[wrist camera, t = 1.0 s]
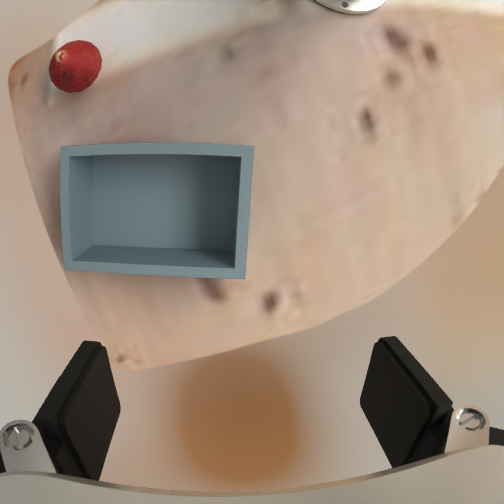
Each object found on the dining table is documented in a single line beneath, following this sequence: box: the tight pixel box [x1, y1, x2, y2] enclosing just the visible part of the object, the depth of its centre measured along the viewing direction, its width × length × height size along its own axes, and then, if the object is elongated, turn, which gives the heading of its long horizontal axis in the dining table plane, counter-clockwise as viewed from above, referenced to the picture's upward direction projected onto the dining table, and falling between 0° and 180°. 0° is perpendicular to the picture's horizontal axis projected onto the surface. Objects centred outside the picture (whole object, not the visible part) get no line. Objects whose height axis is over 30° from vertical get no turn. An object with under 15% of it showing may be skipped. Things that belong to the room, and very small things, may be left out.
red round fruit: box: [49, 40, 102, 93], centre depth 25 cm, size 6×6×8 cm
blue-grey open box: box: [60, 143, 254, 279], centre depth 31 cm, size 12×18×7 cm, turn 86°
